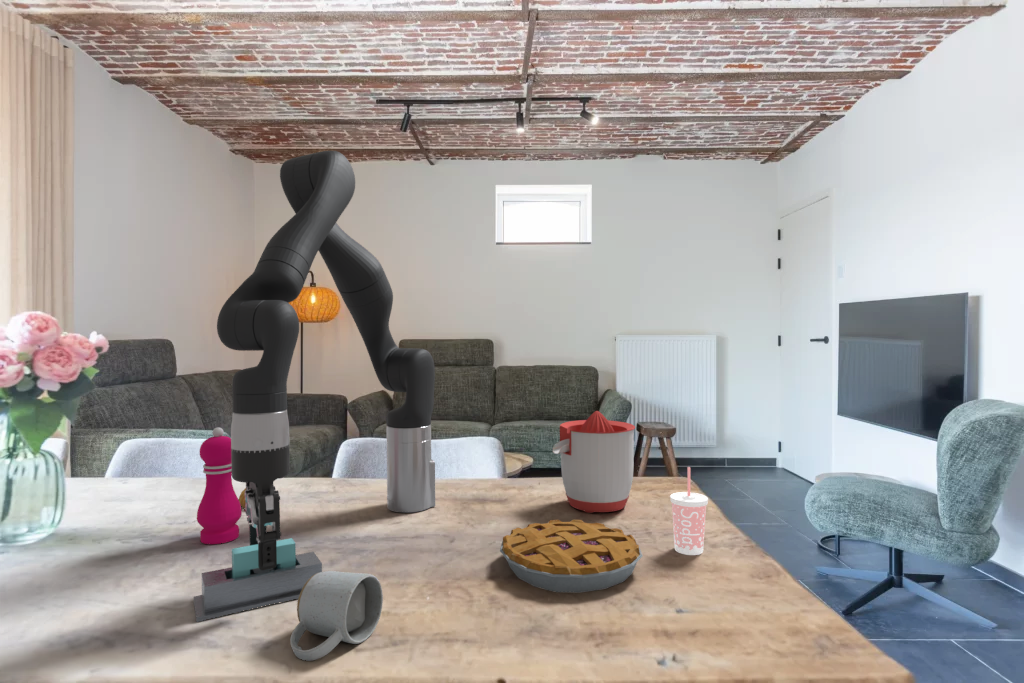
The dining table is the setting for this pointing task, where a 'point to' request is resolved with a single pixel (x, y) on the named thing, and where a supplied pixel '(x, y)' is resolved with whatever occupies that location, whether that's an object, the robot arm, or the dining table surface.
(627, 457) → the citrus juicer
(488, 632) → the dining table surface
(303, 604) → the ceramic mug
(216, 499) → the pepper mill
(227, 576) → the grey hollow block
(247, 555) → the clip
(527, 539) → the pie
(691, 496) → the beverage cup
